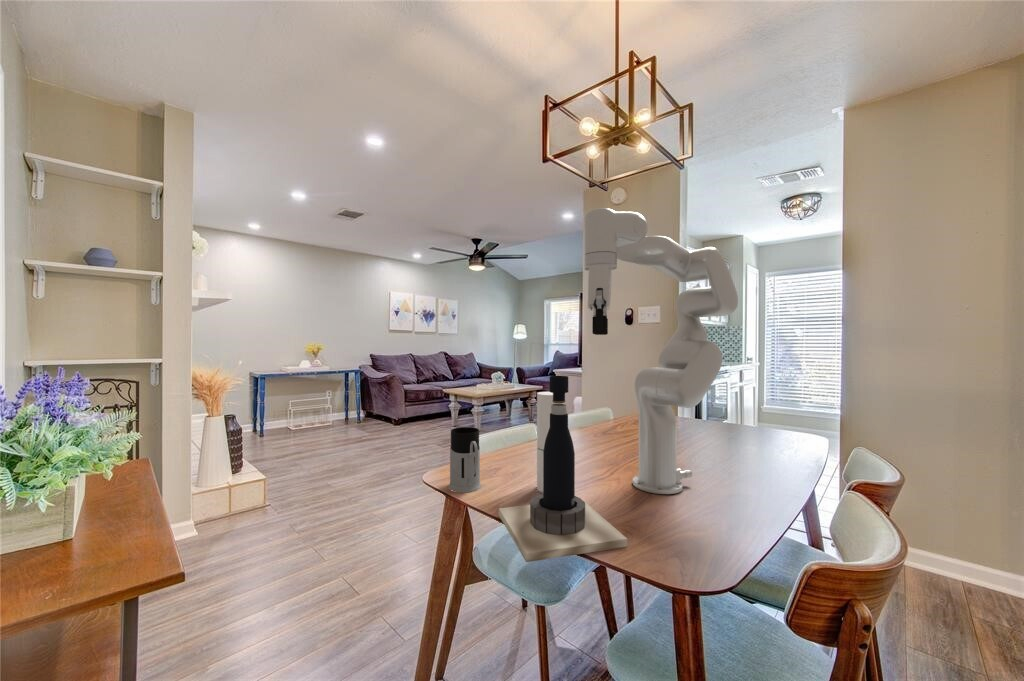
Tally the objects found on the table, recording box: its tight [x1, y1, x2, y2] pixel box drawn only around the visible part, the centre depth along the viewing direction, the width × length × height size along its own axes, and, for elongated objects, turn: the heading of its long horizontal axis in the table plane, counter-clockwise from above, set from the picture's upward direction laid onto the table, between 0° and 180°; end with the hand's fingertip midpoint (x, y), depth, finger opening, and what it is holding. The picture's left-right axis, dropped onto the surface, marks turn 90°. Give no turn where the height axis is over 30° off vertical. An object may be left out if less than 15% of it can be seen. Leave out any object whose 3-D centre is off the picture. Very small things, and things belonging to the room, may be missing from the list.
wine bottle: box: [542, 375, 576, 511], centre depth 84 cm, size 6×6×30 cm
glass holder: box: [448, 426, 482, 494], centre depth 106 cm, size 9×14×15 cm, turn 23°
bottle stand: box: [498, 493, 628, 563], centre depth 84 cm, size 20×20×6 cm
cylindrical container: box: [536, 391, 566, 494], centre depth 107 cm, size 7×7×25 cm
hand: (600, 334), depth 98 cm, fingers open, 9 cm apart
